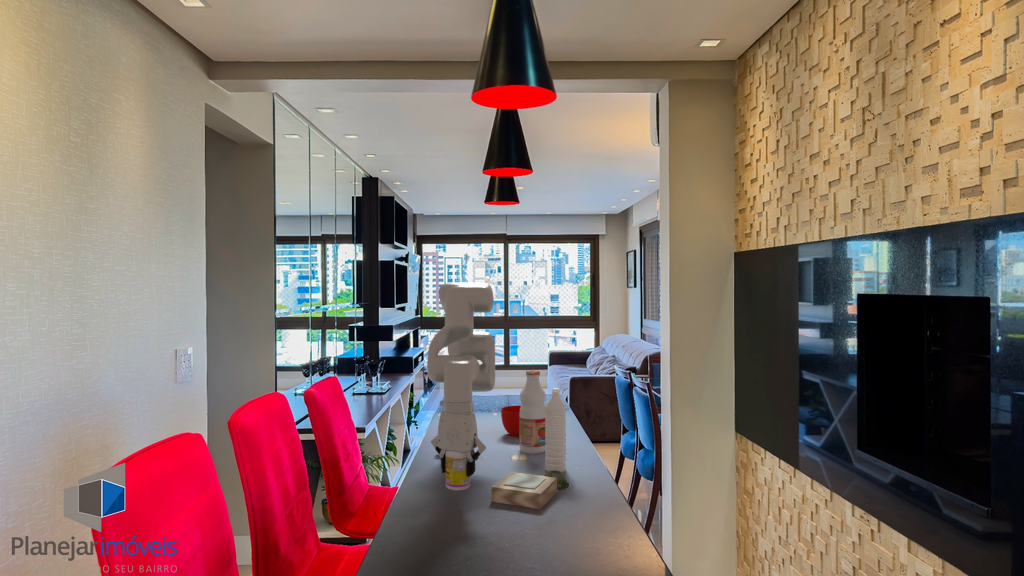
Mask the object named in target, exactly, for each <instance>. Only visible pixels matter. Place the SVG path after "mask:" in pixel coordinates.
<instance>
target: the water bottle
mask: <svg viewBox="0 0 1024 576" xmlns="http://www.w3.org/2000/svg"><path fill="white" fill-rule="evenodd" d="M560 392H561V389H560V388H558V387H553V388H551V397H550V398H549V399H548V400H547V402H546V403H545V413H546V414H545V416H546V417H545V421H546V422H545V426H546V427H545V429H546V430H545V437H546V438H545V443H546V444H545V449H546V450H545V456H544V459H545V462H544V469H545V471H547V472H549V471H552V470H555V471H560V472H561V473H563V472H566V469H567V465H566V461H567V460H566V458H567V457H566V455H567V453H566V451H567V448H566V445H567V444H566V442H567V439H566V436H567V432H566V431H567V428H566V427H567V422H566V421H567V419H566V418H567V417H566V414H567V408H566V404H565V402H564V400H563V399H562V397H561V394H560Z"/></svg>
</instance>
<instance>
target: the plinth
mask: <svg viewBox="0 0 1024 576" xmlns="http://www.w3.org/2000/svg"><path fill="white" fill-rule="evenodd" d="M490 490H491V496H490V497H491V499H490V500H491V502H493V503H496V504H505V505H512V506H519V507H525V508H531V509H538V510H541V509H542V508H543V507H544V506H545V505H546V504H547V503H548V502H549V501H550V500H551V499H552V498H553V497H554V496H555V495H556V494H557V492H558V491H557V478H555V477H547V476H543V475H540V474H539V475H538V474H531V473H524V472H515V471H510V472H509V473H508V474H507V475H505V476H504V477H502V478H501V479H500V480H498V481H497V482H496V483H494V484H493V485H492V486H491V488H490Z"/></svg>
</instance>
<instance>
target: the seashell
mask: <svg viewBox="0 0 1024 576" xmlns="http://www.w3.org/2000/svg"><path fill="white" fill-rule="evenodd" d="M542 476H547V477H555V478H557V490H558V491H563V490H562V489H565V490H567V489H566V488H568V487H569V488H570V486H569V484H570V483H569V482H568V481H567V479H566V478H565V476H564V474H563V472H560V471H555V470H552V471H549V472H548V471H547V472H546V473H544V474H543V475H542ZM569 488H568V489H569Z"/></svg>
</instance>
